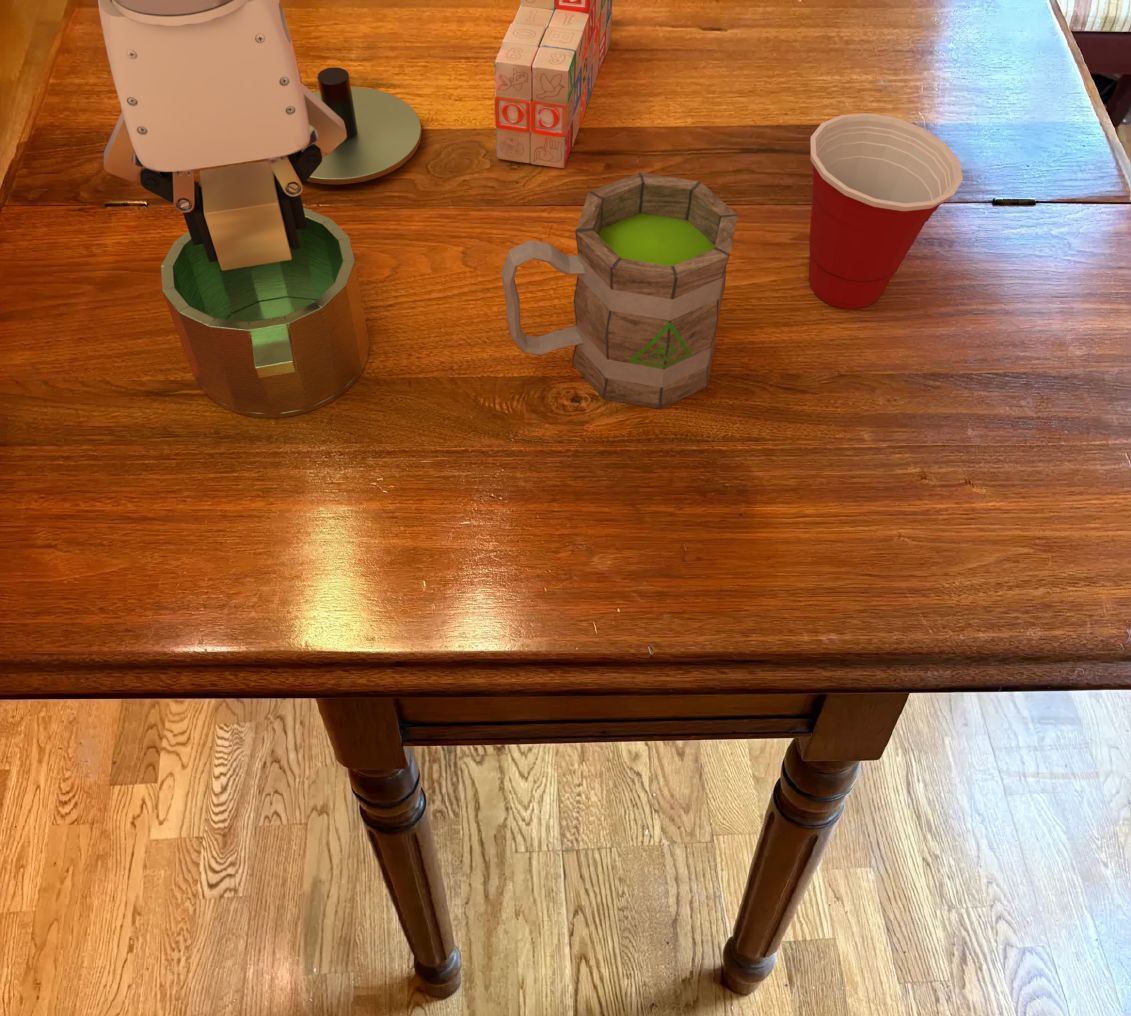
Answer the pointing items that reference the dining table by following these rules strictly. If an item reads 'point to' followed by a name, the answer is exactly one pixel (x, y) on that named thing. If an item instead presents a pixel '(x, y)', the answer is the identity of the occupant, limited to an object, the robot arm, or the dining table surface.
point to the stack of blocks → (548, 77)
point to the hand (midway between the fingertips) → (252, 239)
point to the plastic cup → (871, 202)
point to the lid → (365, 131)
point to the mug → (638, 288)
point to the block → (244, 215)
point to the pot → (271, 323)
